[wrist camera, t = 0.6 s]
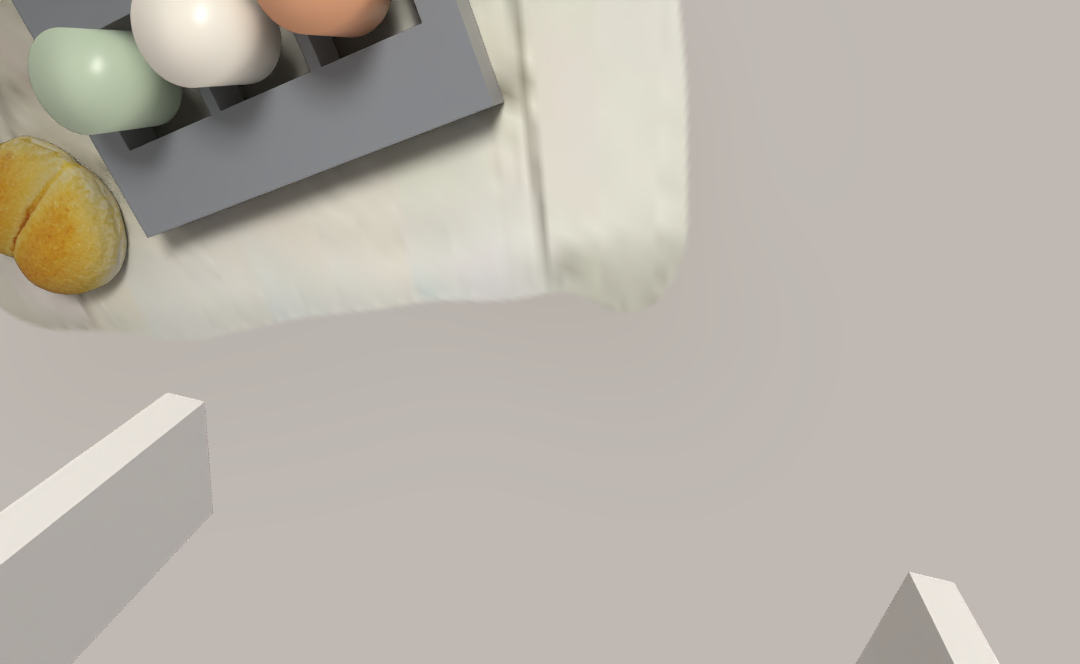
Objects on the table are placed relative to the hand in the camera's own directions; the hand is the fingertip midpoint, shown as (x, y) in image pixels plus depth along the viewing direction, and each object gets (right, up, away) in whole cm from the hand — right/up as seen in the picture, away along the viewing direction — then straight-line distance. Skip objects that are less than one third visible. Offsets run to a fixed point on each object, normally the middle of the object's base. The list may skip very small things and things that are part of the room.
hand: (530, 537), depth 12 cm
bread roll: (-29, +11, +27) cm, 41 cm away
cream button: (-14, +18, +18) cm, 29 cm away
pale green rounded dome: (-20, +16, +20) cm, 32 cm away
